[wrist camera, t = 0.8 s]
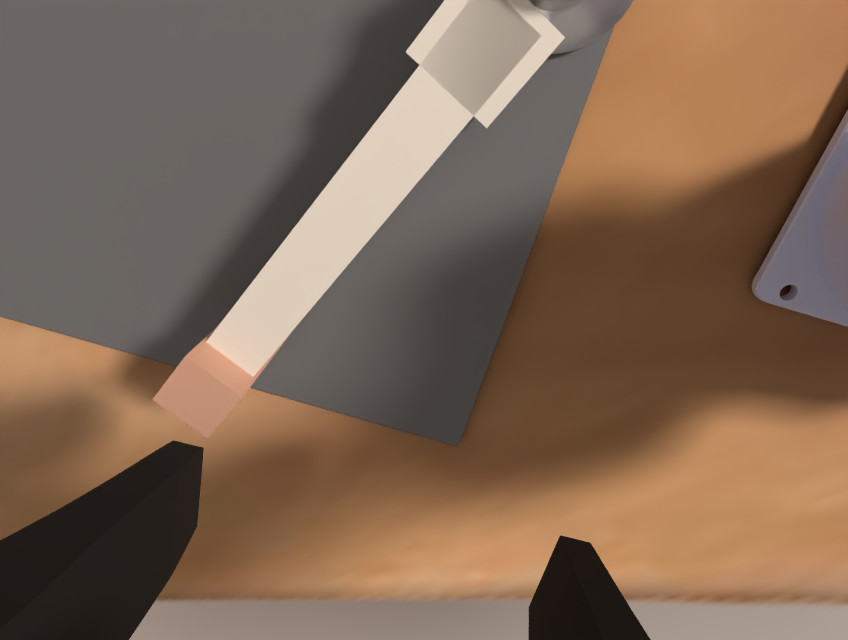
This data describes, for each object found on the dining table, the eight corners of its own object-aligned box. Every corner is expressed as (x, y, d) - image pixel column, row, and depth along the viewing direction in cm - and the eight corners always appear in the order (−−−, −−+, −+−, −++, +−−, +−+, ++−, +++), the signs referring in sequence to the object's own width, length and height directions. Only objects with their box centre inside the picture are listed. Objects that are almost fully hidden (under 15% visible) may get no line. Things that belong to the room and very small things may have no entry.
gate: (479, -19, 14) (481, -61, 10) (545, 47, 15) (572, 33, 11) (214, 326, 19) (142, 393, 15) (271, 369, 20) (216, 445, 15)
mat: (723, -278, 13) (730, -288, 13) (458, 440, 21) (458, 446, 21) (-84, -543, 12) (-101, -562, 12) (-32, 300, 21) (-41, 304, 20)
